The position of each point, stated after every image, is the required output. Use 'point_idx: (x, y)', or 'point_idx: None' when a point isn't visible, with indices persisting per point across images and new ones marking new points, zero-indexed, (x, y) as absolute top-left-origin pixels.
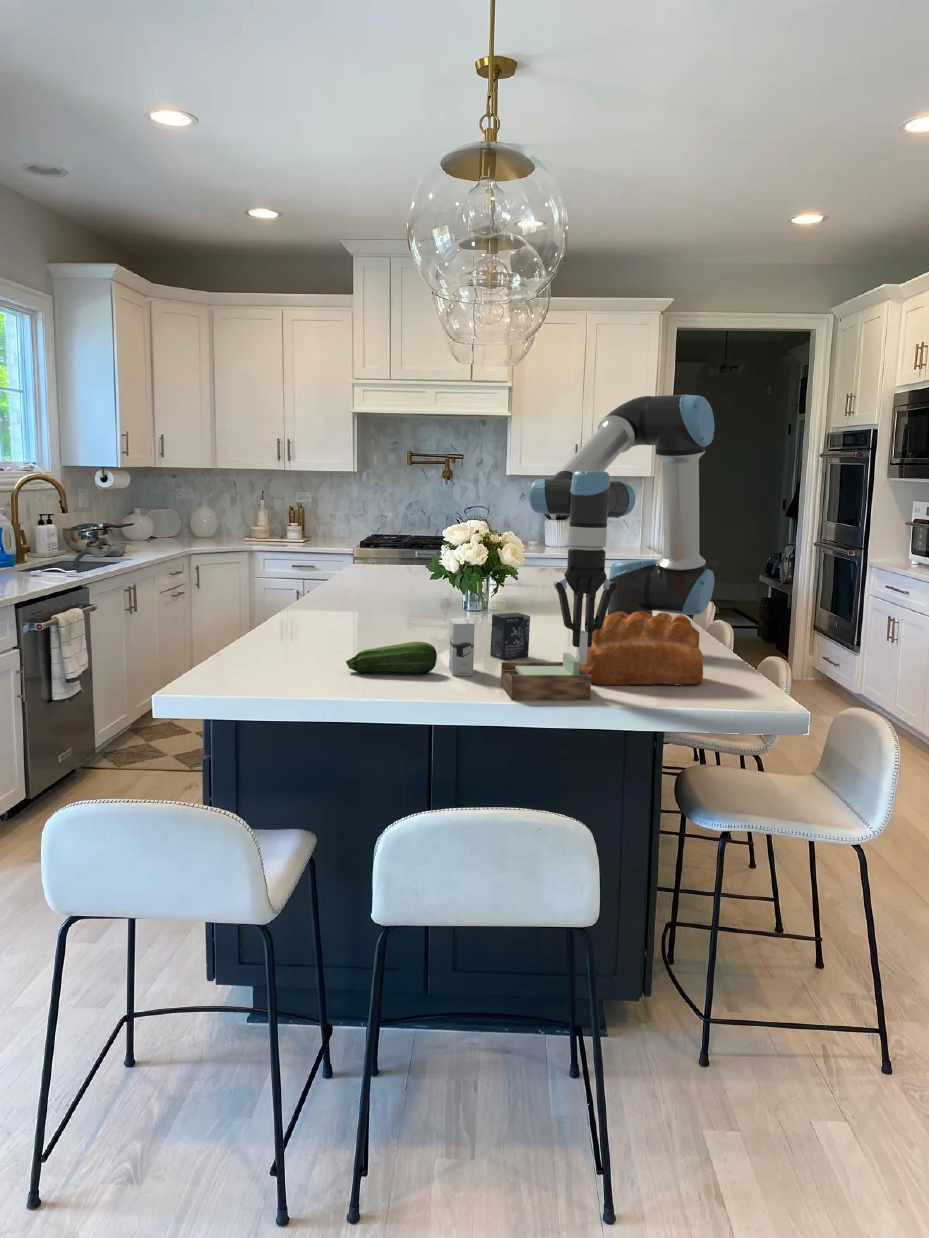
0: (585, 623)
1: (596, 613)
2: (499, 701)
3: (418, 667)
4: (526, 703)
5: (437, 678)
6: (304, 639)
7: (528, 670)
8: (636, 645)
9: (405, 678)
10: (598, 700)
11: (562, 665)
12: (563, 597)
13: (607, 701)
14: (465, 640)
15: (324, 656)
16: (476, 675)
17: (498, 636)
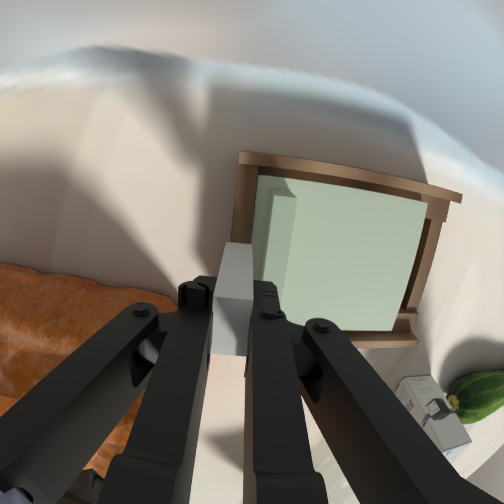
0: (207, 367)
1: (131, 403)
2: (450, 180)
3: (478, 374)
4: (408, 149)
5: (458, 357)
6: None
7: (387, 278)
8: (40, 334)
9: (489, 353)
10: (220, 145)
11: None
12: (430, 462)
13: (199, 133)
14: (443, 422)
15: (483, 432)
16: (394, 382)
17: None
